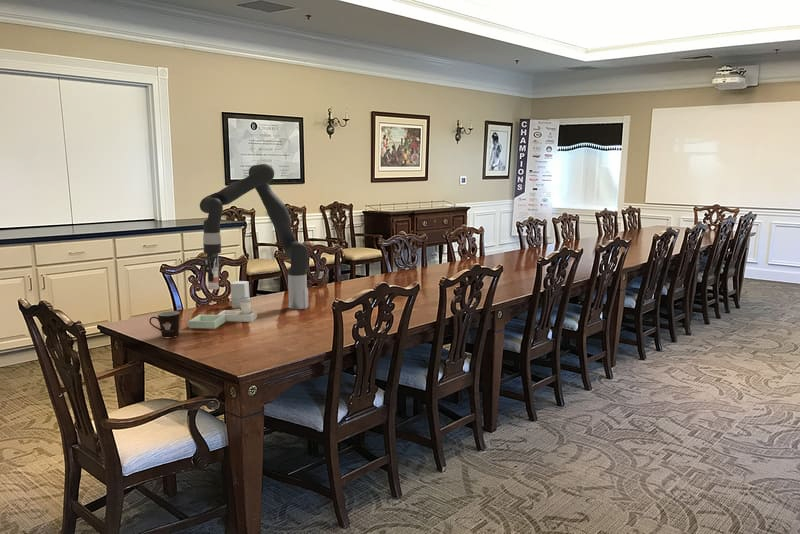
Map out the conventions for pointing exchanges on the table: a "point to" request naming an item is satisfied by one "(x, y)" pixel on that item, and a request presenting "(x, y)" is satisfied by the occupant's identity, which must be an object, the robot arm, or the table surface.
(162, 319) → the coffee mug
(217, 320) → the tray
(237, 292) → the supplement box
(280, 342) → the table surface
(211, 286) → the marked fuse
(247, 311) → the fuse
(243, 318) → the fuse block
